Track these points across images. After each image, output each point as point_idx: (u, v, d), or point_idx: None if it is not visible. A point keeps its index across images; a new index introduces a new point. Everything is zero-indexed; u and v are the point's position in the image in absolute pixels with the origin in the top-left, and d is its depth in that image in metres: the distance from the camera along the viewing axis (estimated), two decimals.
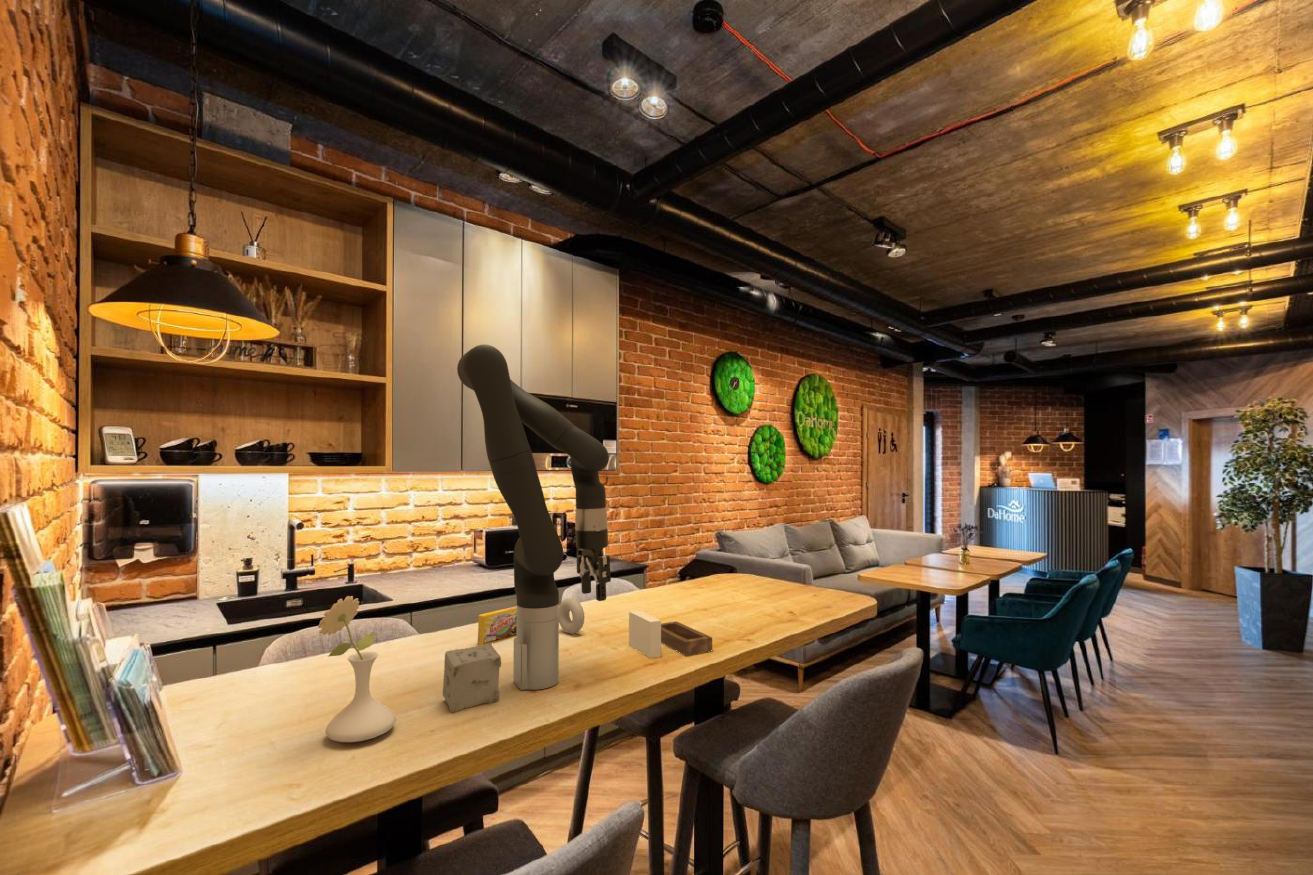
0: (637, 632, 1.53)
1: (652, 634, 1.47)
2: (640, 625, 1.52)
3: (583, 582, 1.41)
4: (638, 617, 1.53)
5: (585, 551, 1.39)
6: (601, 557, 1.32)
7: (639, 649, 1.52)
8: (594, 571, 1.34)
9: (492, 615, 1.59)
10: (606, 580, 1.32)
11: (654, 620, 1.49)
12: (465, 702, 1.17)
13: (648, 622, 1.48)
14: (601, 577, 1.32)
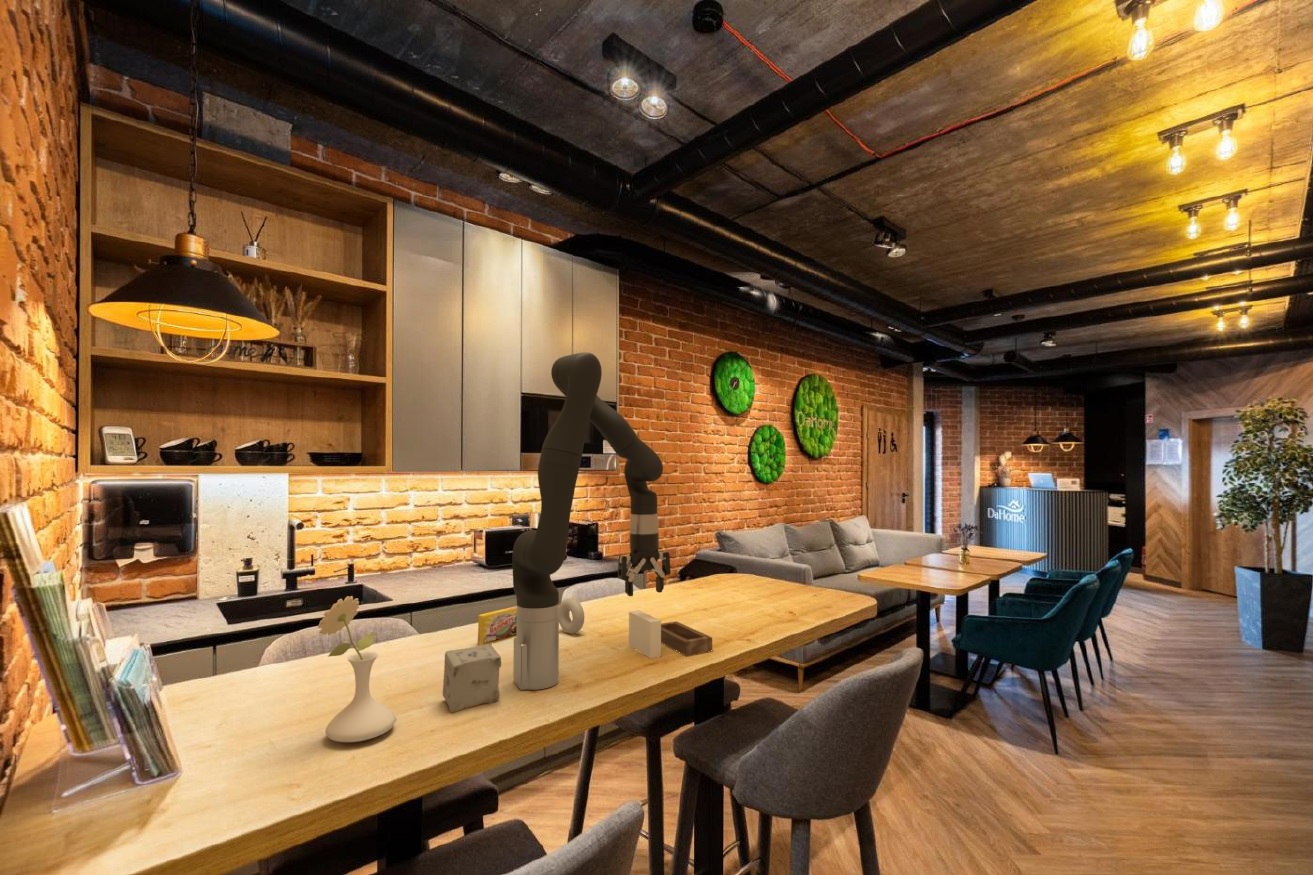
0: (637, 632, 1.53)
1: (652, 634, 1.47)
2: (640, 625, 1.52)
3: None
4: (638, 617, 1.53)
5: (641, 554, 1.52)
6: None
7: (639, 649, 1.52)
8: None
9: (492, 615, 1.59)
10: None
11: (654, 620, 1.49)
12: (465, 702, 1.17)
13: (648, 622, 1.48)
14: (669, 569, 1.56)
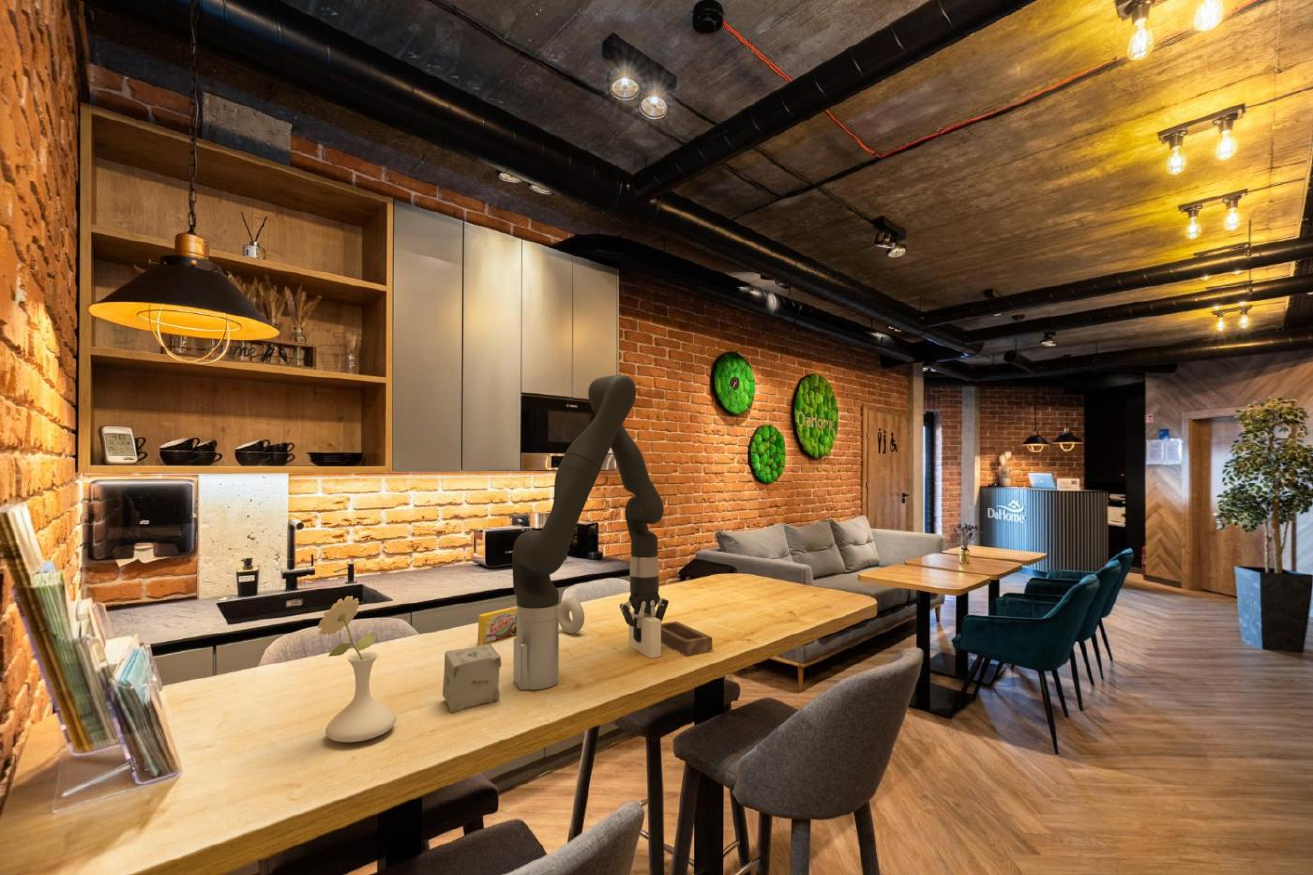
0: None
1: (652, 634, 1.47)
2: None
3: None
4: None
5: (641, 597, 1.52)
6: None
7: (639, 649, 1.52)
8: None
9: (492, 615, 1.59)
10: None
11: (654, 620, 1.49)
12: (465, 702, 1.17)
13: (648, 622, 1.48)
14: (662, 617, 1.54)
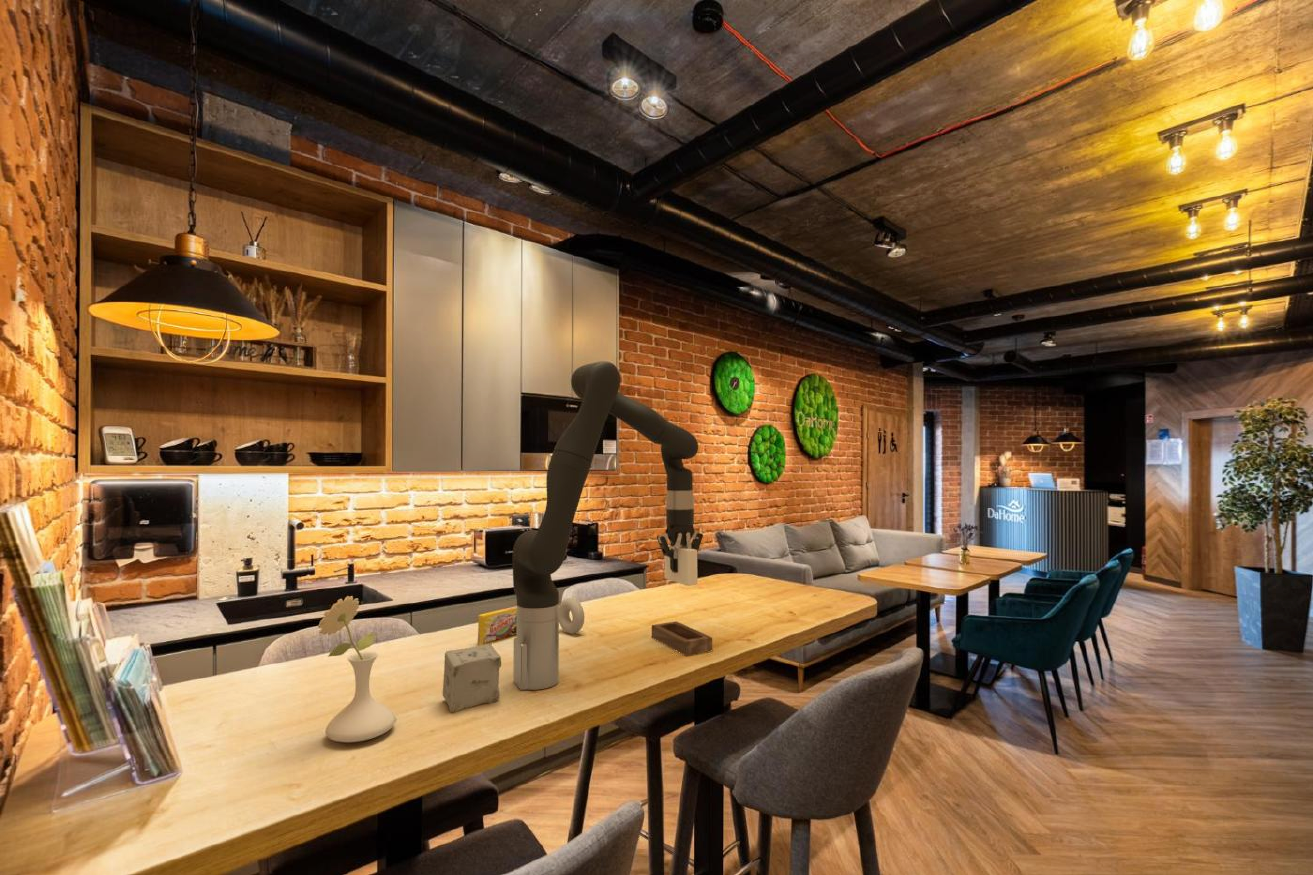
0: None
1: (689, 563, 1.53)
2: None
3: None
4: None
5: (677, 529, 1.58)
6: None
7: (675, 579, 1.58)
8: None
9: (492, 615, 1.59)
10: None
11: (690, 550, 1.55)
12: (465, 702, 1.17)
13: (685, 551, 1.54)
14: (697, 550, 1.61)
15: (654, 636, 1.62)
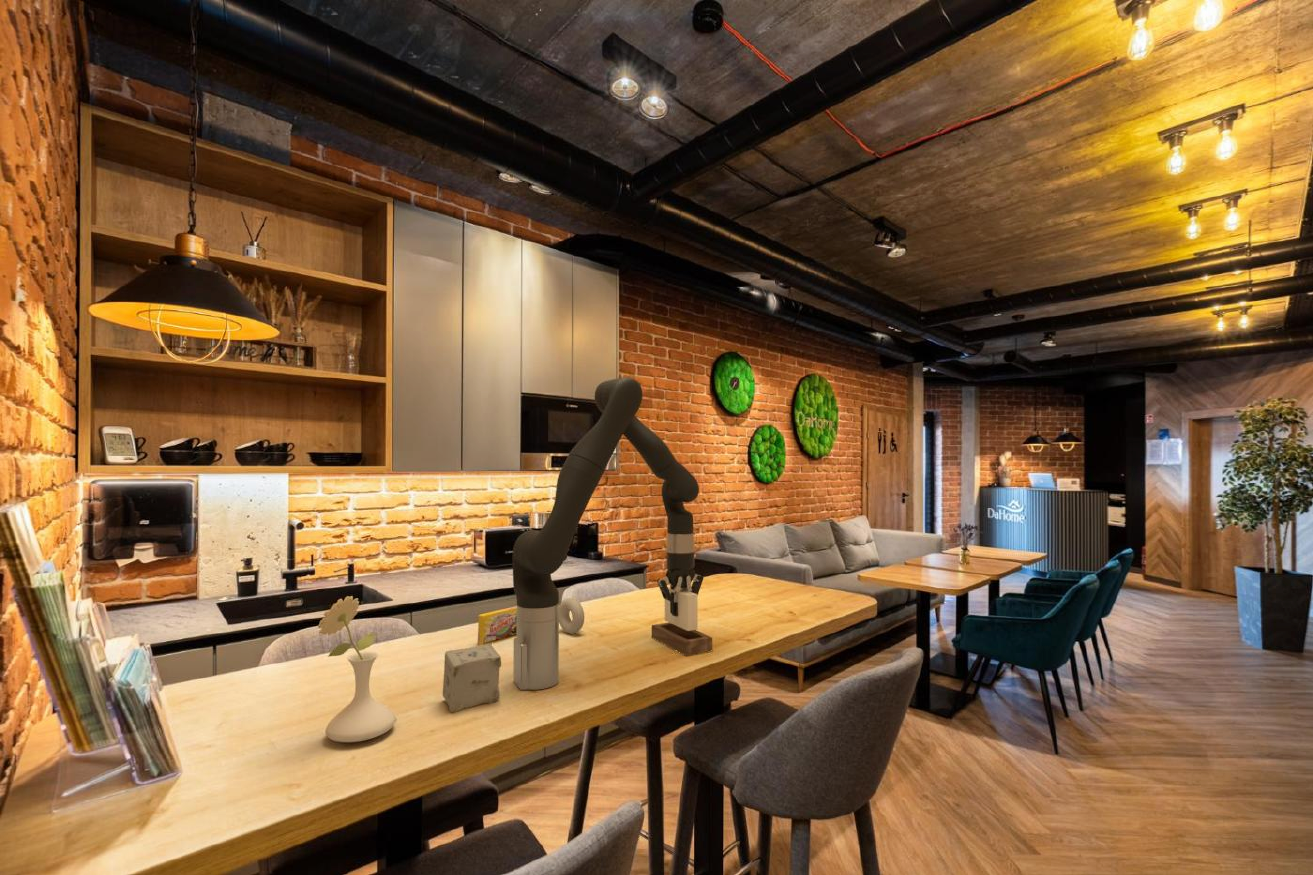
0: None
1: (689, 607, 1.53)
2: None
3: None
4: None
5: (677, 572, 1.57)
6: None
7: (676, 623, 1.57)
8: None
9: (492, 615, 1.59)
10: None
11: (691, 594, 1.54)
12: (465, 702, 1.17)
13: (685, 596, 1.53)
14: (697, 593, 1.60)
15: (654, 636, 1.62)
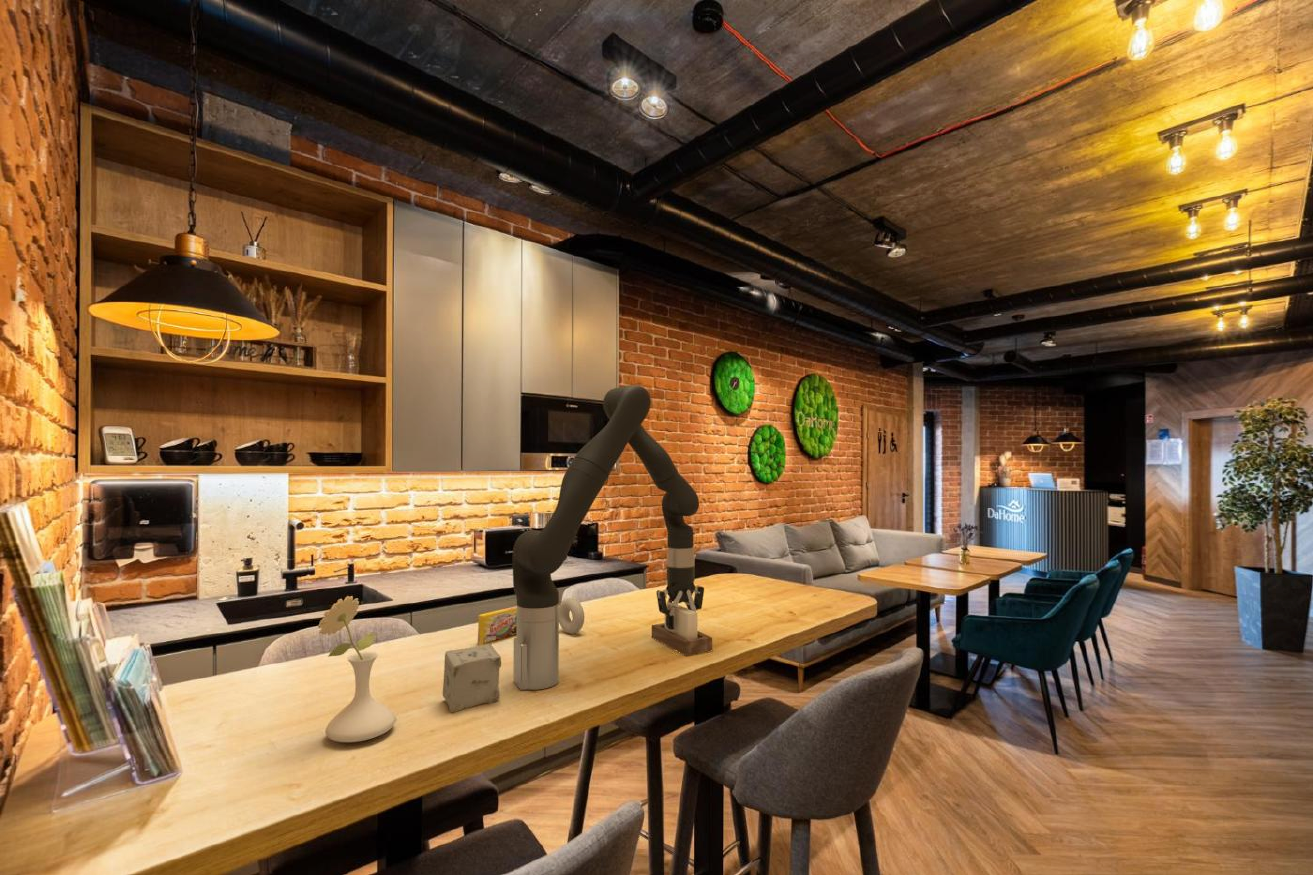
0: (674, 624, 1.58)
1: (689, 626, 1.53)
2: (677, 617, 1.57)
3: None
4: None
5: (677, 586, 1.57)
6: None
7: None
8: None
9: (492, 615, 1.59)
10: None
11: (691, 612, 1.54)
12: (465, 702, 1.17)
13: (685, 614, 1.53)
14: (701, 604, 1.60)
15: (654, 636, 1.62)
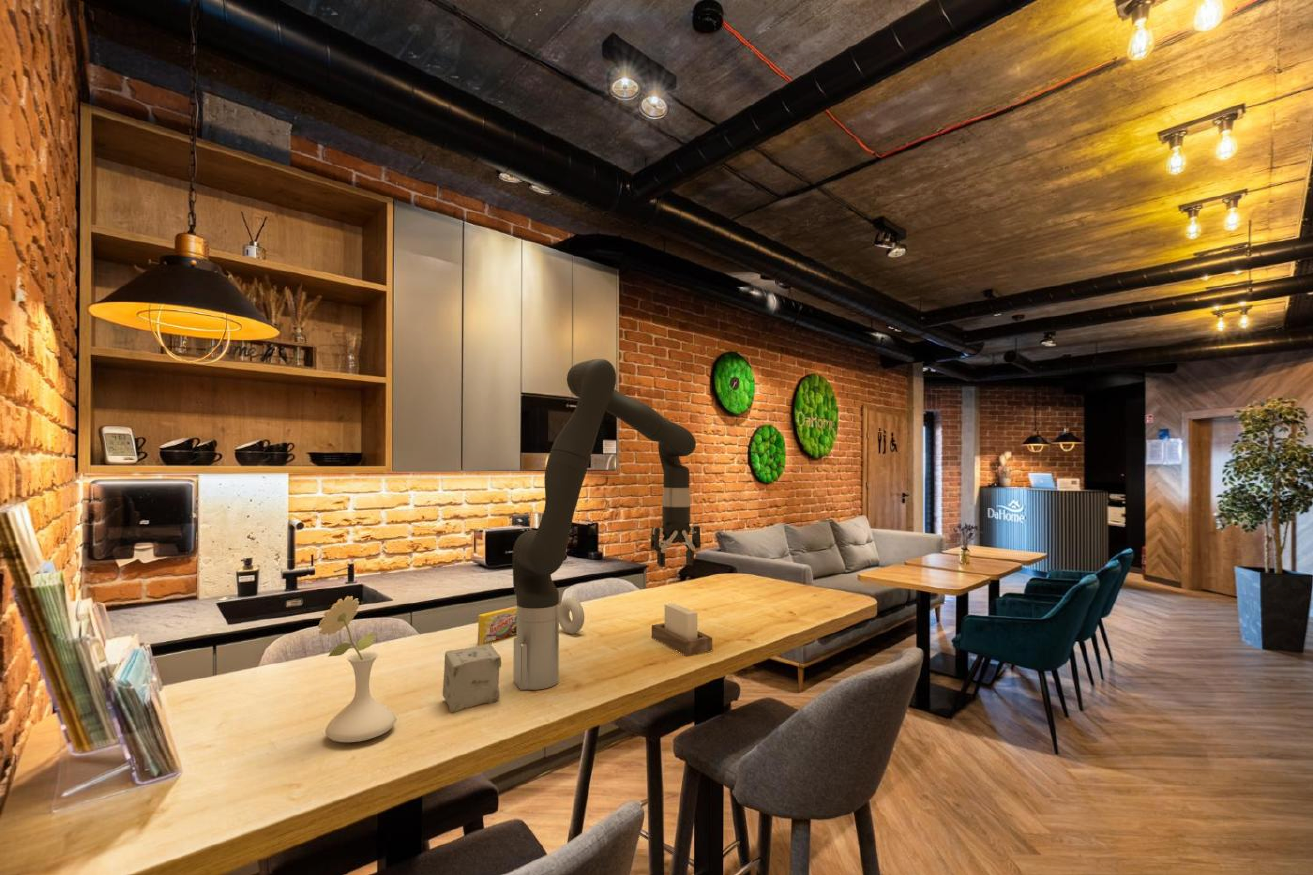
0: (674, 624, 1.58)
1: (689, 626, 1.53)
2: (677, 617, 1.57)
3: None
4: (674, 609, 1.58)
5: (673, 526, 1.57)
6: None
7: None
8: None
9: (492, 615, 1.59)
10: None
11: (691, 612, 1.54)
12: (465, 702, 1.17)
13: (685, 614, 1.53)
14: None
15: (654, 636, 1.62)
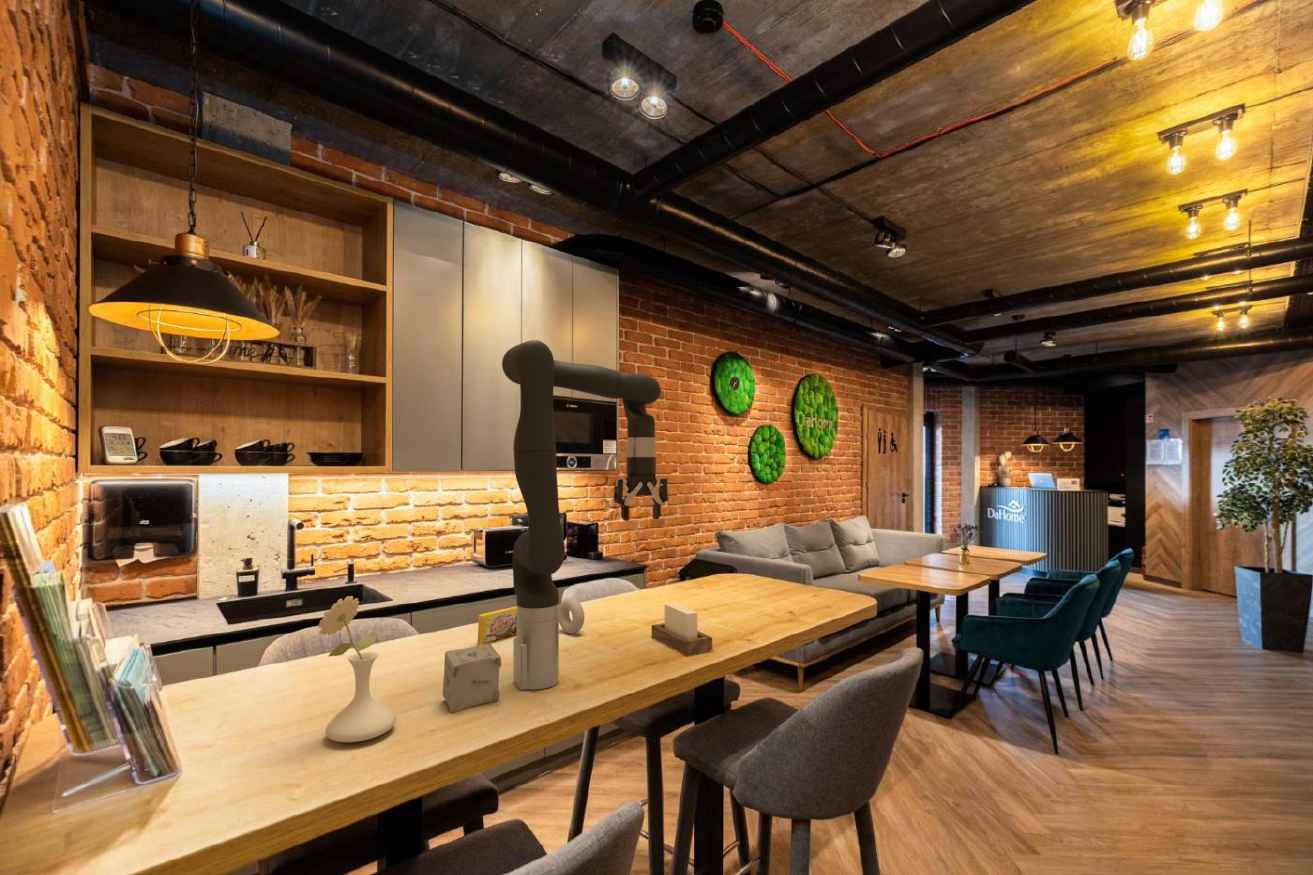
0: (674, 624, 1.58)
1: (689, 626, 1.53)
2: (677, 617, 1.57)
3: None
4: (674, 609, 1.58)
5: (637, 478, 1.48)
6: None
7: None
8: None
9: (492, 615, 1.59)
10: None
11: (691, 612, 1.54)
12: (465, 702, 1.17)
13: (685, 614, 1.53)
14: (667, 496, 1.52)
15: (654, 636, 1.62)
